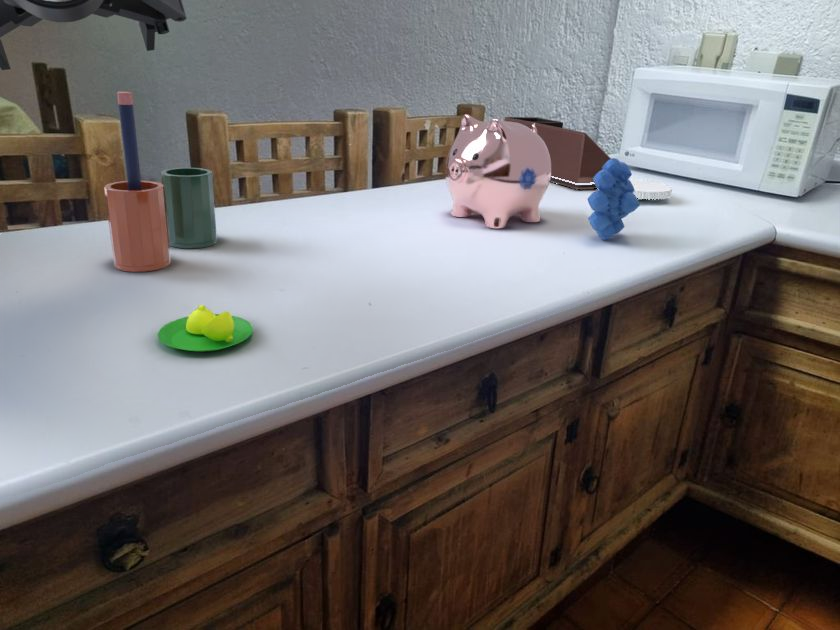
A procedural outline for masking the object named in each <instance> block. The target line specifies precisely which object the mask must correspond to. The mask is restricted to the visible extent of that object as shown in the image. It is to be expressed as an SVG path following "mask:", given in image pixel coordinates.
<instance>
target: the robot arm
mask: <svg viewBox="0 0 840 630" xmlns="http://www.w3.org/2000/svg"><path fill="white" fill-rule="evenodd" d="M91 15H95V16H98V17H102V18H105V19H107V18H110V17H112V16H119V17H122V18H124V19H125V18H126V19H129V20H133V21H137V22H138V25H139V28H140V32H141V35H142V39H143V42H144V46H145V49H146V51H147V52H150V51H155V47H156V46H155V45H156V43H155V42H156V33H157V35H166V34H168V33H170V28H169V25H168V21H167V20H169V19H170V20H172V21H174V22H184V21H186V20H187V16H186V11H185V8H184V4H183V1H182V0H0V38H2V37H3V36H5V35H7V34H8V33H10V32H12V31H14V30H15V29H17V28H19V27H21V26H23V27H33V26H34V25H36V24H38V23H39V22H41V21H43V20H46V21H49V22H54V23H73V22H77V21H78V22H79V21H81V20H83V19H86V18H88V17H89V16H91ZM0 69H1V71H7V70H11V69H12V68H11V65H10V63H9V60H8V57H7V54H6V51H5V48H4V45H3V42H2V40H1V39H0Z"/></svg>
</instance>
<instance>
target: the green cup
mask: <svg viewBox="0 0 840 630" xmlns="http://www.w3.org/2000/svg"><path fill="white" fill-rule="evenodd" d="M160 178H161V179H160V180H161V184H163V185H164V190H165V201H166V212H167V223H168V234H169V245H170V247H173V248H177V249H187V250H188V249H201V248H208V247H211V246H213V245H216V243H217V221H216V220H217V219H216V206H215V205H216V204H215V187H214V174H213V171H212V170H210V169H207V168H202V167H173V168H167V169H164V170H161V171H160Z"/></svg>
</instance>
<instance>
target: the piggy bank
mask: <svg viewBox="0 0 840 630" xmlns="http://www.w3.org/2000/svg"><path fill="white" fill-rule="evenodd" d="M531 126H532V129H533V130H531V129H530V128H528V127H527V126H525V125H523V124H520V123H516V122H509V121H505V120H500V119H498V118H492V119H491V120H490V121H482V120H478V119H476V118H475V117H473V116H471V115H470V114H468V113H465V114H463V116H462V118H461V119H460V125H459V130H458V133H457V135H456V137H455V139H454V141H453V142H452V145H451V146H450V149H449V151H448V152H447V153H448V154H447V156H446V160H445V164H444V165H445V166H444V176H445V182H446V186H447V189H448V191H449V194H450V197H451V200H452V207H451V212H450V215H451V216H453V217H456V218H467V217H470V215H472V214H476V215H479V216H482V218H483V219H484V223H485V226H486V227H487V228H490V229H495V230H497V229H504V228H506V225H507V224H508V222H509V221H508V220H509V219H510V218H512V217H516V216H520V219H521V221H522V222H525V223H538V222H540V221H541V215H540V204H541V201H542V200H543V198H544V196H545V194H546V192H547V190H548V187H549V185H550V183H551V182H550V179H551V173H552V163H551V158H550V154H549V151H548V148H547V146H546V144H545V143H544V141H543V140H542V138H541V137H540V136H539V135H538V134H537V129H536V126H535V124H534V125H531Z"/></svg>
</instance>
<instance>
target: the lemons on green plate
mask: <svg viewBox="0 0 840 630" xmlns="http://www.w3.org/2000/svg"><path fill="white" fill-rule="evenodd" d="M253 332H254V326H253V325H252V324H251V322H249V321H248V320H246V319H244V318H242V317H239V316H235V315H232V314H231V313H230V311H229V310H226V311H223V312H221V313H214V312H213V310H210V309H208V308H207V307H206V306H205V305H204V304H200V305H198V306H197V308H195V310H193V311H192V312H191V313H190V314H189V315H188V316H184V317H181V318H177V319H174V320H172V321H170V322H168V323H166V324H165V325H163V326H162V327H161V328H159V330H158V332H157V338H158V340H159V341H160V342H161V344H163V345H164V346H167V347H170V348H173V349H178V350H183V351H187V352H193V353H194V352H197V353H205V352H215V351H220V350H225V349H227V348H230V347H232V346H235V345H237V344H238V345H239V344H240V343H241V342H245V340H247V339H248V338H250V336H251V335H252V334H253Z"/></svg>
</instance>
